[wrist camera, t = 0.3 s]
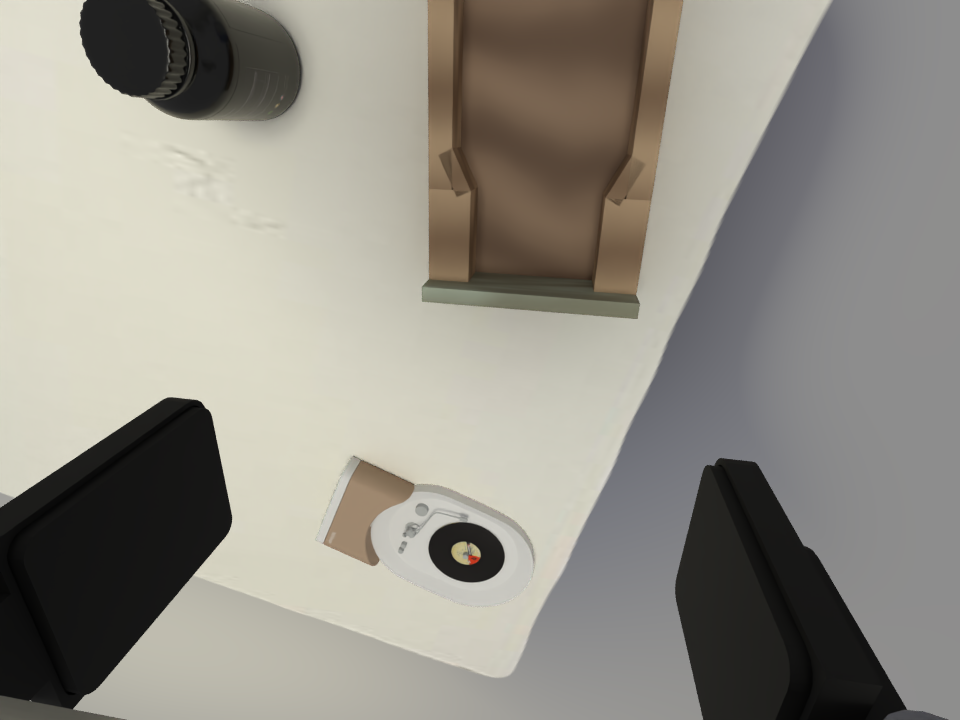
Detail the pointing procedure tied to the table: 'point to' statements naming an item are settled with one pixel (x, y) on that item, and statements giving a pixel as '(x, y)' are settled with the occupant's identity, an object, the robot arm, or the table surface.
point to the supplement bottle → (193, 56)
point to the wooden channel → (544, 149)
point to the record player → (428, 536)
